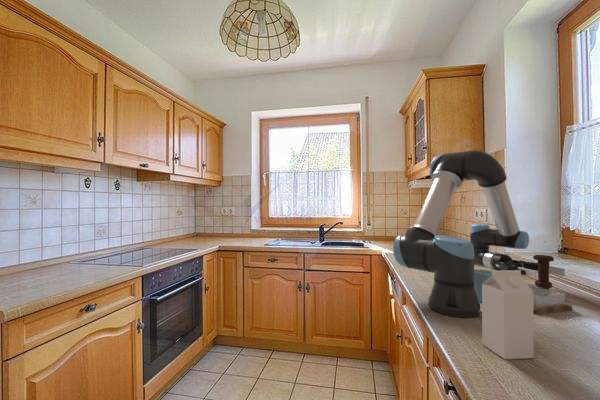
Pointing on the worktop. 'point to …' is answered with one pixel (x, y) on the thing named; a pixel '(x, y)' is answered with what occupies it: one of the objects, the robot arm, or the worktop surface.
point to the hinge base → (548, 301)
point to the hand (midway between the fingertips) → (550, 273)
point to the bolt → (543, 271)
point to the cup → (480, 281)
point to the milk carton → (508, 315)
